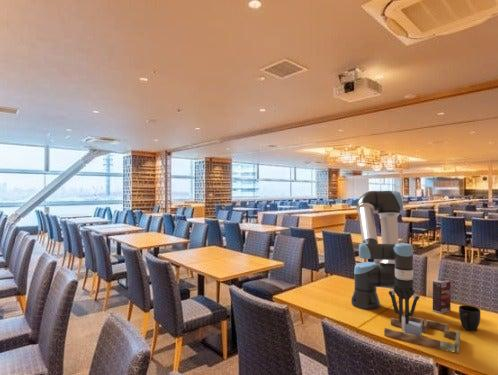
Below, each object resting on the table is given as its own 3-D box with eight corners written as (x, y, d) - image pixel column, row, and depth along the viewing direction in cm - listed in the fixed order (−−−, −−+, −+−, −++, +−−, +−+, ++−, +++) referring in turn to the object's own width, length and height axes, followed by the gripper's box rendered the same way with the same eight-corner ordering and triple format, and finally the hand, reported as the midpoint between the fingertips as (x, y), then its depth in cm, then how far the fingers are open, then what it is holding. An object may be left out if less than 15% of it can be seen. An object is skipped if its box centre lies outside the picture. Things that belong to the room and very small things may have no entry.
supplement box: (441, 314, 166) (440, 283, 166) (432, 310, 170) (431, 281, 170) (451, 311, 170) (451, 281, 170) (442, 308, 174) (442, 278, 174)
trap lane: (384, 335, 143) (384, 327, 143) (394, 318, 161) (394, 311, 161) (458, 353, 127) (458, 344, 127) (460, 333, 145) (460, 325, 144)
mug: (453, 331, 147) (453, 310, 147) (462, 323, 155) (462, 303, 155) (475, 337, 141) (474, 315, 141) (482, 329, 148) (482, 308, 148)
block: (404, 336, 142) (404, 325, 142) (407, 331, 147) (407, 320, 147) (419, 340, 139) (419, 328, 139) (421, 334, 144) (421, 323, 143)
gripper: (386, 277, 146) (386, 329, 146) (418, 282, 138) (418, 337, 138) (390, 273, 152) (390, 323, 152) (421, 278, 144) (421, 330, 144)
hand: (404, 330), depth 145 cm, fingers closed
